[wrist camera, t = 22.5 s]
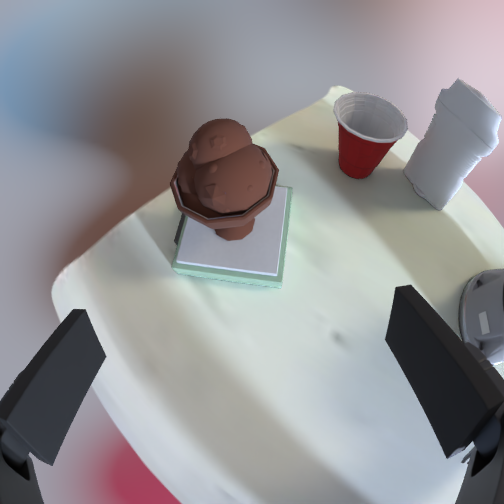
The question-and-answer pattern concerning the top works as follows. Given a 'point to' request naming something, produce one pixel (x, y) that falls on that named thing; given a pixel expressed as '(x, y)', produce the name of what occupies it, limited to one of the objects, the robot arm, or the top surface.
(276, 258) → the scale
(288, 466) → the top surface
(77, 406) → the robot arm
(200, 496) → the top surface
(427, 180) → the tall pale column
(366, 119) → the plastic cup
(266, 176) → the ice cream bowl
